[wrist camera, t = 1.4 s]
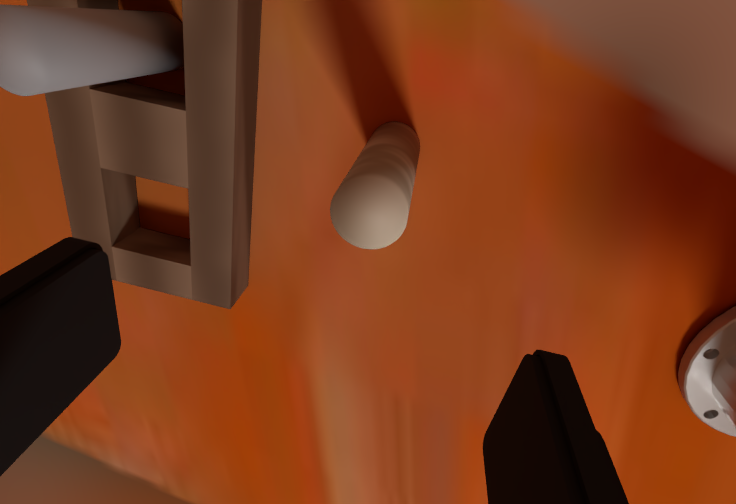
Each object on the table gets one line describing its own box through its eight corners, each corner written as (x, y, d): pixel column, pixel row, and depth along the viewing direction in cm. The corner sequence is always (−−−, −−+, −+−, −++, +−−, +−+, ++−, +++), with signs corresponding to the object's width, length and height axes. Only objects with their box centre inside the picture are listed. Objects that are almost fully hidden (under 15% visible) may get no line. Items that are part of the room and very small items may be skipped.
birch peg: (425, 127, 24) (416, 187, 15) (413, 177, 25) (398, 256, 17) (374, 116, 24) (336, 168, 15) (365, 166, 26) (325, 239, 17)
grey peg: (190, 17, 23) (39, 14, 14) (192, 75, 25) (55, 103, 16) (139, 6, 23) (-43, -4, 15) (143, 64, 25) (-19, 86, 16)
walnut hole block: (264, -57, 21) (239, -68, 18) (247, 285, 31) (230, 309, 29) (57, -99, 21) (4, -116, 19) (109, 251, 32) (79, 271, 29)
